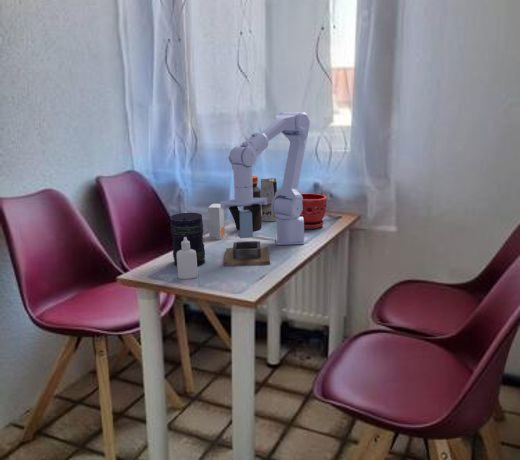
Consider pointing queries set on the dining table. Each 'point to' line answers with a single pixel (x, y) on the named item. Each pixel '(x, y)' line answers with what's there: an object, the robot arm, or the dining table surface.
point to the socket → (246, 254)
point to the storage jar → (188, 234)
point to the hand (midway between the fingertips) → (245, 228)
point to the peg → (245, 224)
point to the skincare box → (216, 221)
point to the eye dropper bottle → (186, 261)
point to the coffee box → (268, 198)
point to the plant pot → (313, 210)
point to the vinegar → (258, 195)
